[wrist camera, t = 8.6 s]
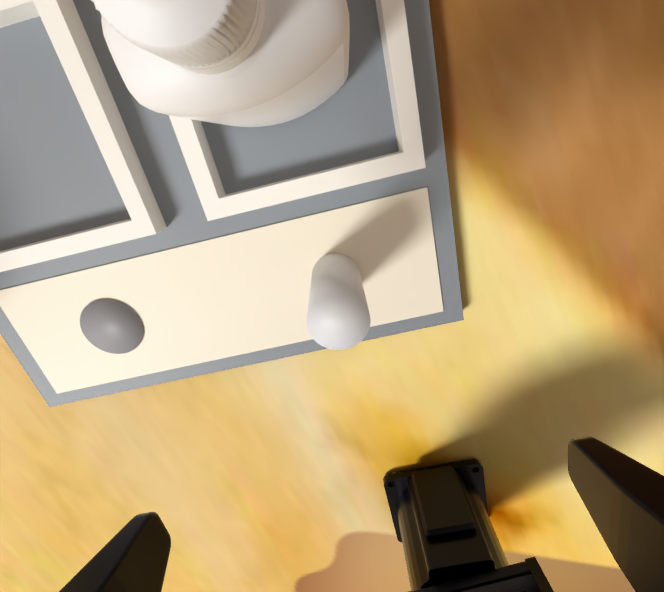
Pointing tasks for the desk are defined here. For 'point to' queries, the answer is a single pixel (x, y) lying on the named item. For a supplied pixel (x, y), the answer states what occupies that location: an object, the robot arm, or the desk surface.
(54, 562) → the desk surface
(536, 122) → the desk surface
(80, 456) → the desk surface
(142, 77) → the white bottle
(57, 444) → the desk surface
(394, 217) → the board
